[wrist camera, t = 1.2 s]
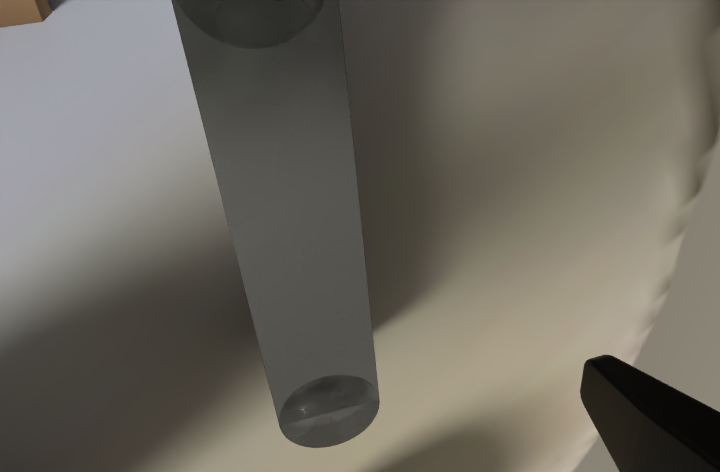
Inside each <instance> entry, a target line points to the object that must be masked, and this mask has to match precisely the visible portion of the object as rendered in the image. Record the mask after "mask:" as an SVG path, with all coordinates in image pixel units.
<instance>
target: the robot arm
mask: <svg viewBox="0 0 720 472" xmlns="http://www.w3.org/2000/svg"><path fill="white" fill-rule="evenodd" d="M580 394H581V399H582V402H583V404H584V406H585V408H586V410H587V412H588V414H589V416H590V418H591V419H592V421H593V423H594V425H595V427H596V429H597V431H598V433H599V434H600V436H601V438H602V440H603V442H604V444H605V446H606V447H607V449H608V451H609V453H610V455H611V456H612V459H613V460H614V462H615V464H616V466H617V468H618V470H619V472H720V412H718V411H717V410H715V409H713V408H711V407H709V406H707V405H705V404H703V403H701V402H699V401H698V400H696V399H694V398H691V397H690V396H688V395H686V394H684V393H682V392H680V391H678V390H677V389H675V388H673V387H671V386H669V385H667V384H665V383H663V382H661V381H659V380H657V379H655V378H654V377H652V376H650V375H648V374H646V373H644V372H642V371H640V370H638V369H637V368H635V367H633V366H631V365H629V364H627V363H625V362H623V361H621V360H619V359H618V358H616V357H614V356H611V355H602V356H598V357H595V358H591V359H588V360H587V361H586V362H585V364H584V369H583V376H582V382H581V389H580Z"/></svg>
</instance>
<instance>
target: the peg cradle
mask: <svg viewBox="0 0 720 472" xmlns="http://www.w3.org/2000/svg"><path fill="white" fill-rule="evenodd" d="M51 13H52V10H51V7H50V5H49V2H48V0H0V27H7V26H15V25H22V24H29V23H36V22H43V21H44V20H45V19H46V18H47V17H48V16H49V15H50V14H51Z"/></svg>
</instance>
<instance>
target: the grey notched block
mask: <svg viewBox="0 0 720 472" xmlns="http://www.w3.org/2000/svg"><path fill="white" fill-rule="evenodd" d="M172 4H173V8H174V12H175V16H176V20H177V24H178V28H179V32H180V36H181V40H182V44H183V48H184V52H185V55H186V59H187V63H188V67H189V71H190V75H191V79H192V83H193V87H194V91H195V95H196V99H197V103H198V107H199V111H200V115H201V119H202V122H203V126H204V130H205V134H206V138H207V142H208V146H209V150H210V154H211V158H212V162H213V166H214V170H215V174H216V178H217V182H218V186H219V189H220V193H221V197H222V201H223V205H224V209H225V213H226V217H227V221H228V225H229V229H230V233H231V237H232V241H233V245H234V249H235V253H236V257H237V260H238V264H239V268H240V272H241V276H242V280H243V284H244V288H245V292H246V296H247V300H248V304H249V308H250V312H251V316H252V320H253V324H254V327H255V331H256V335H257V339H258V343H259V347H260V351H261V355H262V359H263V363H264V367H265V371H266V375H267V379H268V383H269V387H270V391H271V394H272V398H273V402H274V406H275V410H276V414H277V418H278V422H279V426H280V429H281V431H282V433H283V434H284V435H285V437H286V438H288V439H289V440H290V441H292V442H293V443H295V444H298V445H301V446H305V447H311V448H321V447H330V446H334V445H338V444H341V443H343V442H346V441H348V440H350V439H352V438H354V437H355V436H357V435H359V434H360V433H361V432H363V431H364V430H365V429H366V428H367V427H368V426H369V425H370V424H371V423H372V421H373V420H374V418H375V416H376V414H377V412H378V409H379V391H378V381H377V372H376V362H375V352H374V342H373V332H372V323H371V313H370V303H369V293H368V284H367V274H366V264H365V254H364V245H363V235H362V225H361V215H360V206H359V196H358V186H357V176H356V167H355V157H354V147H353V137H352V128H351V118H350V108H349V98H348V89H347V79H346V69H345V59H344V49H343V40H342V30H341V20H340V10H339V1H338V0H172Z"/></svg>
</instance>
